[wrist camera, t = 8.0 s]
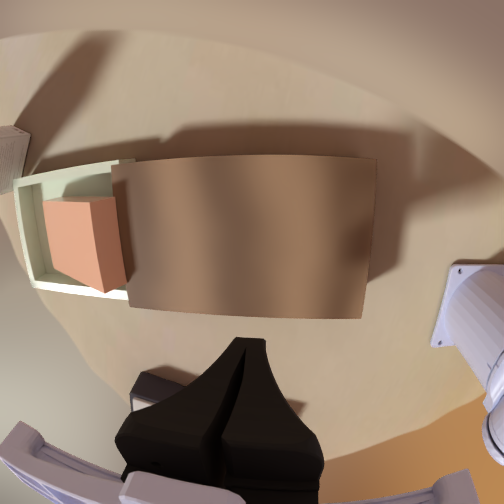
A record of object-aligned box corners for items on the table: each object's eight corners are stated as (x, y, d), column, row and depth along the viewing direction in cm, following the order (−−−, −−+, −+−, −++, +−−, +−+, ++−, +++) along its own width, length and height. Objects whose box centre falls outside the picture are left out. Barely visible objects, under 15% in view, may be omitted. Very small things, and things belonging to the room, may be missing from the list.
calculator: (256, 479, 27) (133, 450, 27) (258, 452, 31) (143, 425, 31) (282, 434, 24) (125, 396, 24) (282, 402, 28) (140, 369, 28)
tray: (135, 158, 20) (118, 159, 18) (148, 287, 24) (136, 301, 22) (30, 176, 22) (12, 179, 20) (46, 277, 25) (32, 287, 23)
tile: (115, 196, 17) (89, 202, 16) (127, 283, 19) (104, 293, 18) (61, 196, 22) (42, 201, 20) (71, 261, 23) (54, 268, 22)
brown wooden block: (360, 157, 19) (376, 159, 15) (350, 291, 22) (361, 318, 18) (139, 161, 21) (110, 165, 17) (151, 284, 24) (129, 306, 20)
